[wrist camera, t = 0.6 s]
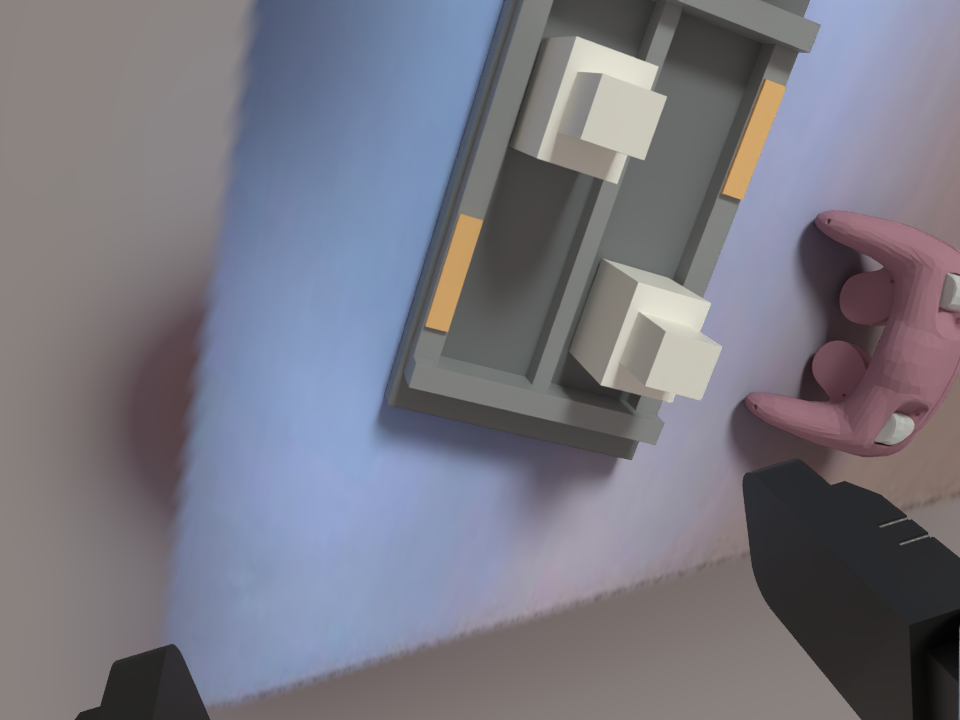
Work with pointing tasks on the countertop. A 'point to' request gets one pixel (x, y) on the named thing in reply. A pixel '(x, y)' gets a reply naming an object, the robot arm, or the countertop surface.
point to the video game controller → (881, 343)
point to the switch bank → (587, 214)
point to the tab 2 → (644, 335)
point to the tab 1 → (588, 108)
